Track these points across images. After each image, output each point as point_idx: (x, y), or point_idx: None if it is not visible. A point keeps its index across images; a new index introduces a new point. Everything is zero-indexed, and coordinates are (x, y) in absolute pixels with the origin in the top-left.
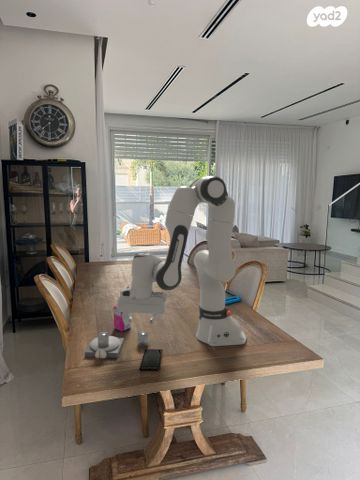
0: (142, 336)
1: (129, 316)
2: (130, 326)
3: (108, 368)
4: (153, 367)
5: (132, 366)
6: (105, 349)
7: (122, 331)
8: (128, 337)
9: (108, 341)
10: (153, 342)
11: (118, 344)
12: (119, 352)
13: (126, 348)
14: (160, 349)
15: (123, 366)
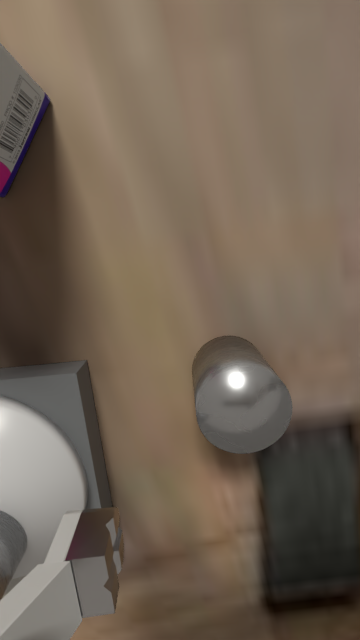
0: (248, 450)
1: (60, 594)
2: (39, 93)
3: (110, 618)
4: (330, 586)
5: (222, 591)
6: (26, 574)
7: (4, 191)
8: (92, 281)
9: (8, 576)
10: (297, 331)
11: (83, 507)
12: (108, 489)
13: (133, 434)
14: (355, 416)
15: (177, 596)
